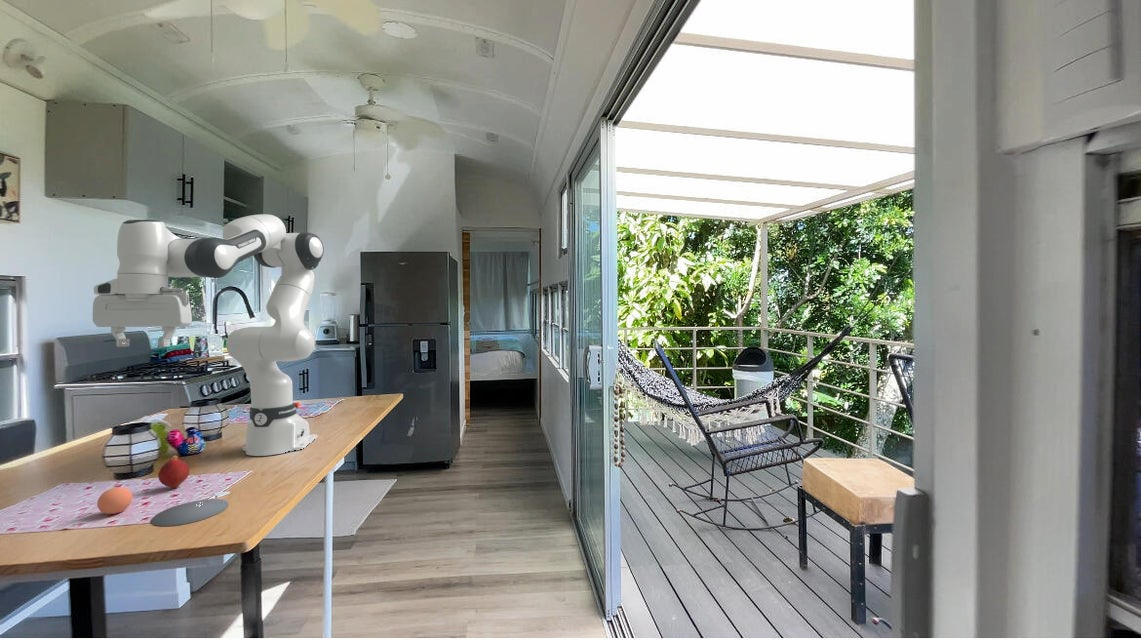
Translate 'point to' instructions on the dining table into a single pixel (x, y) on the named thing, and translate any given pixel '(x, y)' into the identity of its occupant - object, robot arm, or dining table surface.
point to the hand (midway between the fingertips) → (143, 346)
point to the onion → (173, 472)
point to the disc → (189, 512)
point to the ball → (114, 500)
